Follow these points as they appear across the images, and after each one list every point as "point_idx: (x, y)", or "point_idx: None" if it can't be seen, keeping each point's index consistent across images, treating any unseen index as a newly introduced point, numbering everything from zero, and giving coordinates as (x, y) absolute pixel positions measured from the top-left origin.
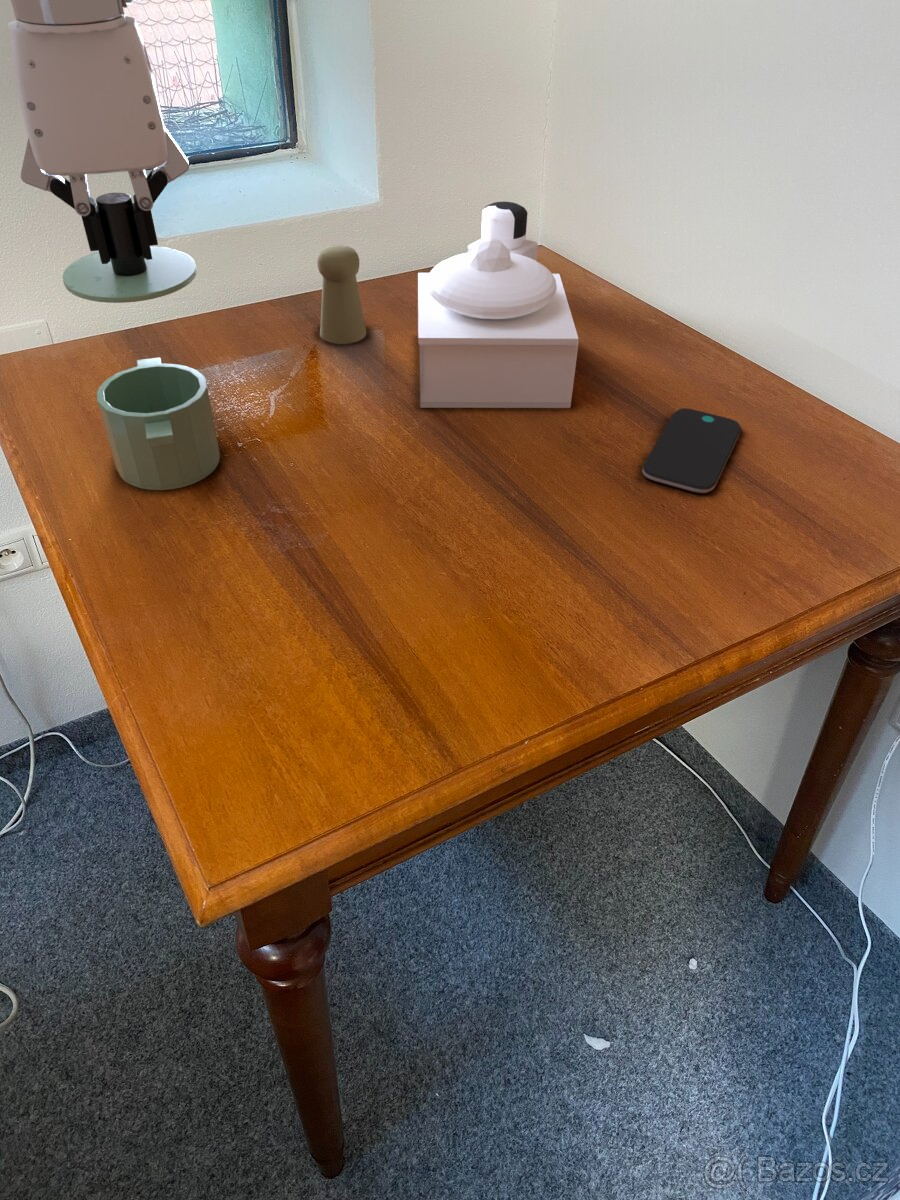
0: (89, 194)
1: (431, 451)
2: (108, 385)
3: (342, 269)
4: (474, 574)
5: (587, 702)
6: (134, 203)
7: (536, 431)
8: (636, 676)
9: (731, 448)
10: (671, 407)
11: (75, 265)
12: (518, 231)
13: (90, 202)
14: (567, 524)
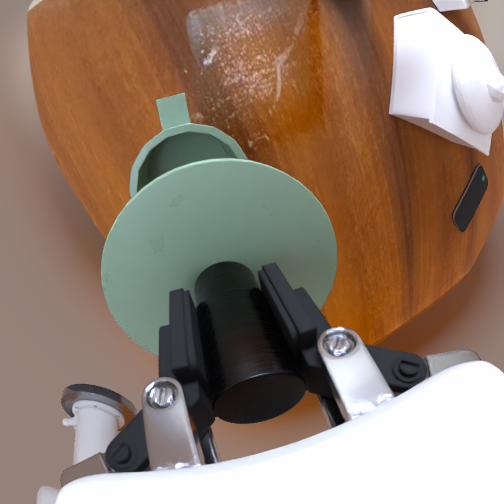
0: (189, 407)
1: (385, 173)
2: (138, 178)
3: None
4: (369, 287)
5: (374, 341)
6: (309, 390)
7: (434, 162)
8: (392, 329)
9: (479, 203)
10: (478, 155)
11: (113, 274)
12: (479, 1)
13: (207, 425)
14: (416, 250)
